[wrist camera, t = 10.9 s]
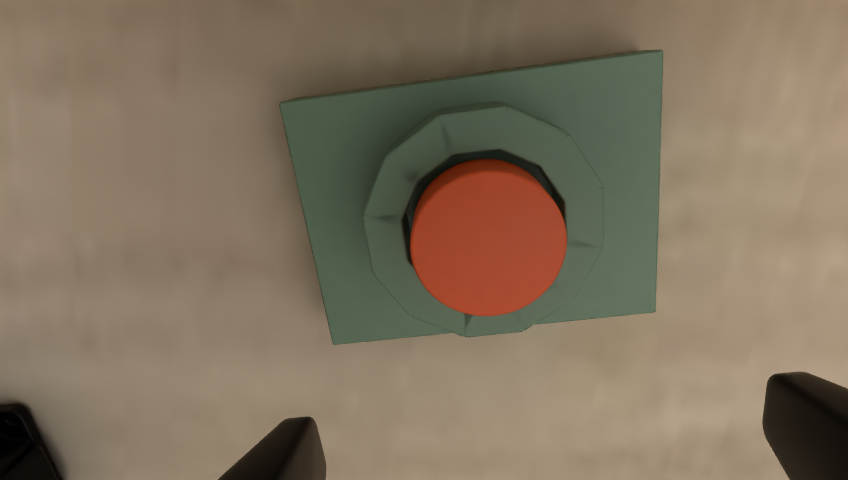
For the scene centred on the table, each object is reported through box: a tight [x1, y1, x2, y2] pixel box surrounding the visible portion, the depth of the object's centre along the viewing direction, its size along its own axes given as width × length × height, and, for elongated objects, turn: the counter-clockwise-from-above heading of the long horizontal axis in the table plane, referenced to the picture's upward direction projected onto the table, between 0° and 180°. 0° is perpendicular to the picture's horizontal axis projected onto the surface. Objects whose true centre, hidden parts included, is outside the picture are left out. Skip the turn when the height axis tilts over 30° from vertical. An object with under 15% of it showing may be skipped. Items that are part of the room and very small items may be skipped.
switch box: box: [279, 50, 663, 345], centre depth 17 cm, size 12×9×4 cm
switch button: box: [410, 159, 567, 316], centre depth 15 cm, size 4×4×2 cm
